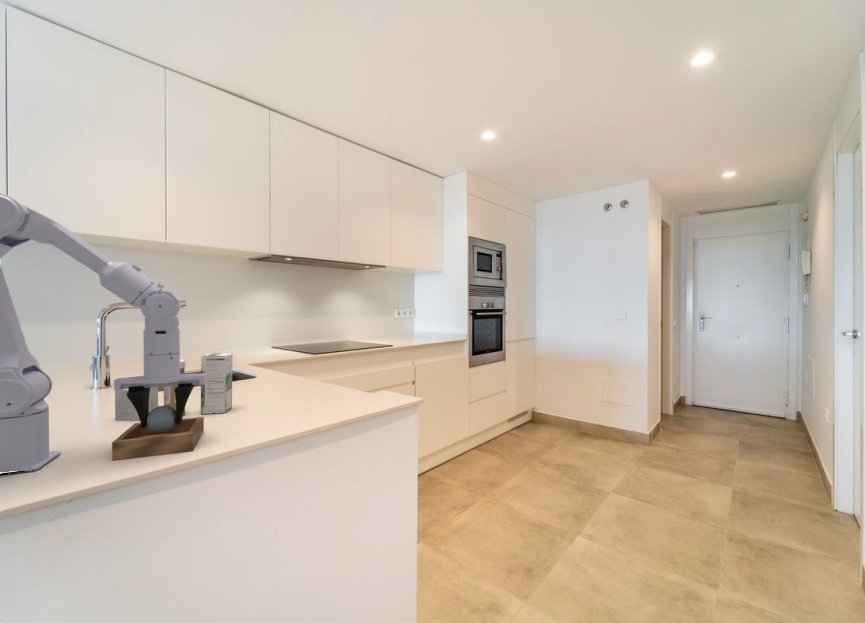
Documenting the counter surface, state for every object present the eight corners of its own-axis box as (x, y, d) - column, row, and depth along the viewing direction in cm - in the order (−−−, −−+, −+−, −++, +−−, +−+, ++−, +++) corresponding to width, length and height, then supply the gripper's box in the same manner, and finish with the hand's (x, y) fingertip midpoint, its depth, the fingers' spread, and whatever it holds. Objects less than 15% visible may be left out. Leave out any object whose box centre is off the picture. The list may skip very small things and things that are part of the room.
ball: (143, 437, 72) (142, 410, 72) (150, 429, 76) (150, 404, 76) (175, 433, 74) (174, 407, 74) (180, 426, 78) (180, 401, 78)
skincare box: (136, 413, 96) (136, 383, 96) (159, 414, 96) (158, 384, 96) (114, 420, 90) (113, 388, 90) (138, 421, 90) (138, 389, 90)
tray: (112, 460, 67) (112, 442, 67) (135, 438, 78) (135, 422, 78) (192, 450, 72) (192, 434, 72) (203, 431, 83) (203, 416, 83)
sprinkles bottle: (185, 416, 94) (185, 360, 93) (162, 419, 91) (162, 362, 91) (185, 412, 98) (185, 358, 97) (163, 414, 95) (162, 359, 95)
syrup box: (208, 408, 101) (207, 352, 100) (233, 407, 102) (232, 352, 102) (200, 414, 95) (199, 355, 95) (226, 413, 96) (226, 355, 96)
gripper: (208, 349, 81) (208, 414, 81) (123, 352, 76) (123, 422, 76) (202, 353, 75) (203, 424, 75) (108, 357, 69) (109, 433, 69)
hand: (162, 424), depth 75 cm, fingers closed on ball, 5 cm apart
